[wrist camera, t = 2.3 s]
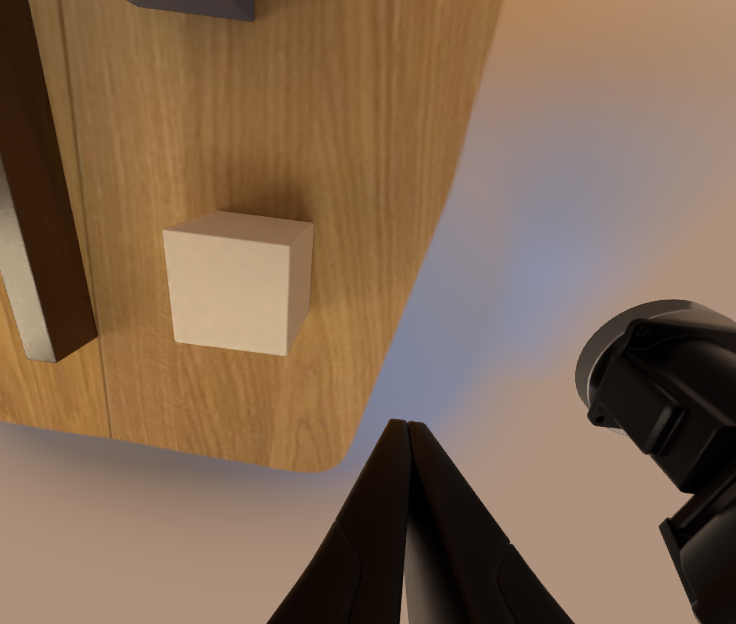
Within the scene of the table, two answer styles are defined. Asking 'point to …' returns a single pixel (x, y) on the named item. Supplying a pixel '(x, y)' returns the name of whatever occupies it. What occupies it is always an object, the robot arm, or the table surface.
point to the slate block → (204, 7)
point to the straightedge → (36, 205)
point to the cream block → (239, 280)
